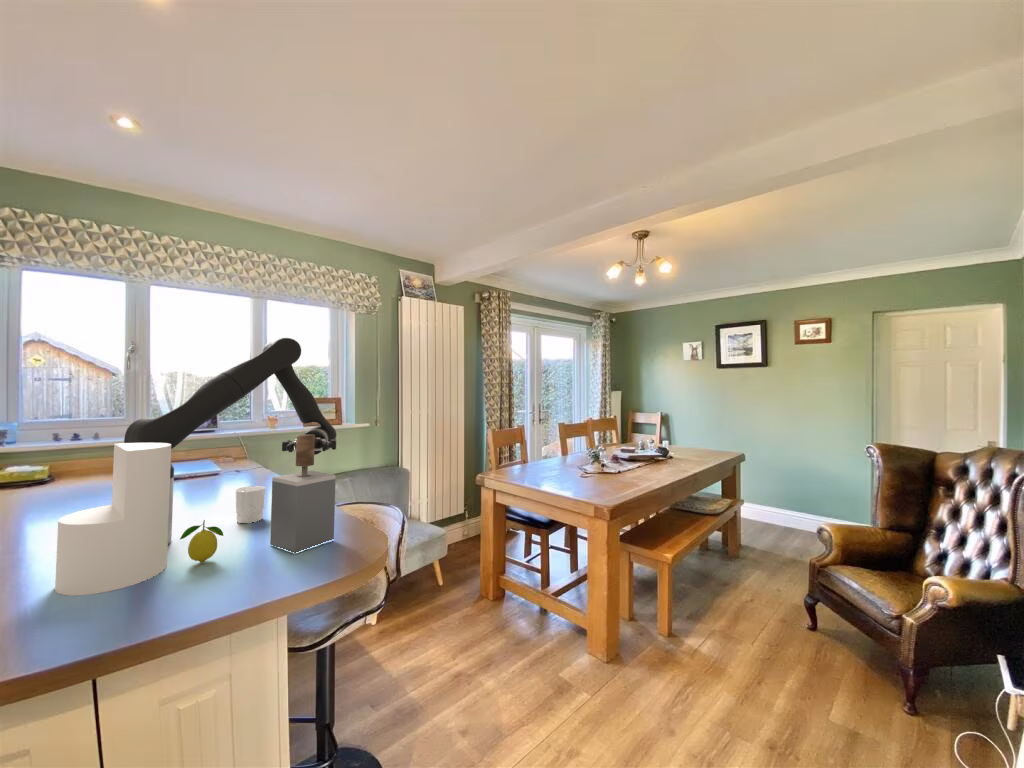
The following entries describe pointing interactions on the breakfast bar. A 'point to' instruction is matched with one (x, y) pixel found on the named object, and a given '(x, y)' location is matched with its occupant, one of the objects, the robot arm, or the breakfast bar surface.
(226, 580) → the breakfast bar surface
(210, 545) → the lemon
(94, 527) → the white stepped oval block
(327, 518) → the grey upright block
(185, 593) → the breakfast bar surface
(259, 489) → the white cup
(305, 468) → the plunger
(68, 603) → the breakfast bar surface
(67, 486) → the breakfast bar surface
